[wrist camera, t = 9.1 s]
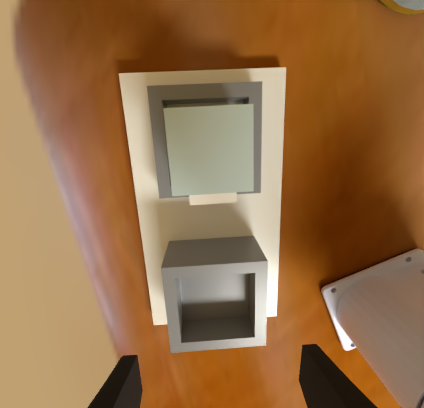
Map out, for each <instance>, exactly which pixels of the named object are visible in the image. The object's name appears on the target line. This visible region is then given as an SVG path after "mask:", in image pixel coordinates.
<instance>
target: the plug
mask: <svg viewBox="0 0 424 408" xmlns="http://www.w3.org/2000/svg"><path fill="white" fill-rule="evenodd" d="M163 111H164V120H165V130H166V140H167V150H168V159H169V169H170V179H171V189H172V196H186V195H189V200H190V205H204V204H220V203H235V202H237V192H251V191H254V115H253V104H239V105H219V106H198V107H178V108H163Z"/></svg>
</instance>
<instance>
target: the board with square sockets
mask: <svg viewBox="0 0 424 408" xmlns="http://www.w3.org/2000/svg"><path fill="white" fill-rule="evenodd" d="M119 80H120V87H121V94H122V101H123V108H124V116H125V123H126V130H127V137H128V144H129V151H130V158H131V166H132V173H133V180H134V187H135V194H136V201H137V208H138V216H139V223H140V230H141V237H142V244H143V251H144V258H145V265H146V273H147V280H148V287H149V294H150V301H151V308H152V315H153V323H154V325H163V324H168V332H169V340H170V349H171V353H176V352H189V351H201V350H214V349H226V348H239V347H251V346H264V345H266V319H267V317H270V316H277V291H278V265H279V239H280V213H281V188H282V162H283V136H284V110H285V84H286V67H277V68H249V69H222V70H195V71H167V72H140V73H119ZM239 104H253V115H254V191H251V192H237V202H235V203H220V204H204V205H190V200H189V195H186V196H172V189H171V179H170V169H169V159H168V150H167V140H166V130H165V120H164V111H163V108H178V107H198V106H219V105H239Z"/></svg>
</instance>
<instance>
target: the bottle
mask: <svg viewBox="0 0 424 408" xmlns="http://www.w3.org/2000/svg"><path fill="white" fill-rule="evenodd" d="M380 1H381V2H382V3H383V4H384V5H386V6H387V7H388V8H390V9H391V10H393V11H395V12H398V13H402V14H407V15H412V14H419V13H424V0H380Z"/></svg>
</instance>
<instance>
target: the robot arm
mask: <svg viewBox="0 0 424 408" xmlns="http://www.w3.org/2000/svg"><path fill="white" fill-rule="evenodd" d="M332 288H334V289H333V290H331V289H332ZM321 293H322V295H323V298H324V301H325V303H326V306H327V308H328V311H329V314H330V316H331V319H332V322H333V324H334V327H335V330H336V332H337V335H338V338H339V340H340V343H341V346H342V347H343V349H344V350H351V349H354V348H357V349H358V351H359V352H360V353H361V355H362V356H363V357H364V359H365V360H366V361H367V363H368V364H369V365H370V367H371V368H372V369H373V371H374V372H375V373H376V375H377V376H378V377H379V379H380V380H381V381H382V383H383V384H384V385H385V387H386V388H387V389H388V391H389V392H390V393H391V395H392V396H393V397H394V399H395V400H396V402H397V403H398V404H399V406H400V407H401V408H424V251H423V250H421V249H418V248H417V249H414V250H411V251H409V252H406V253H404V254H401V255H399V256H397V257H394V258H392V259H389V260H387V261H384V262H382V263H380V264H377V265H375V266H372V267H370V268H367V269H365V270H363V271H360V272H358V273H355V274H353V275H350V276H348V277H346V278H343V279H341V280H338V281H336V282H333V283H331V284H328V285H326V286H324V287H323V288H322V290H321ZM299 382H300V385H301V388H302V392H303V395H304V398H305V401H306V404H307V407H308V408H377V407H376V406H375V405H374V404H373V403H372V402H371V401H370V400H369V399H368V398H367V397H366V396H365V395H364V394H363V393H362V392H361V391H360V390H359V389H358V388H357V387H356V386H355V385H354V384H353V383H352V382H351V381H350V380H349V379H348V377H347V376H346V375H345V374H344V373H343V372H342V371H341V370H340V369H339V368H338V367H337V366H336V365H335V364H334V363H333V361H332V360H331V359H330V358H329V357H328V356H327V355H326V354H325V353H324V352H323V351H322V350H321V348H320V347H319V346H318V345H317V344H309V345H302V355H301V365H300V375H299ZM141 396H142V384H141V377H140V370H139V363H138V356H137V355H127V356H122V357H121V358H120V360H119V361H118V363H117V365H116V366H115V368H114V370H113V371H112V373H111V374H110V376H109V377H108V379H107V380H106V382H105V383H104V385H103V386H102V388H101V389H100V391H99V392H98V394H97V395H96V396H95V398H94V399H93V401H92V402H91V403H90V405H89V406H88V408H140V402H141Z"/></svg>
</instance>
